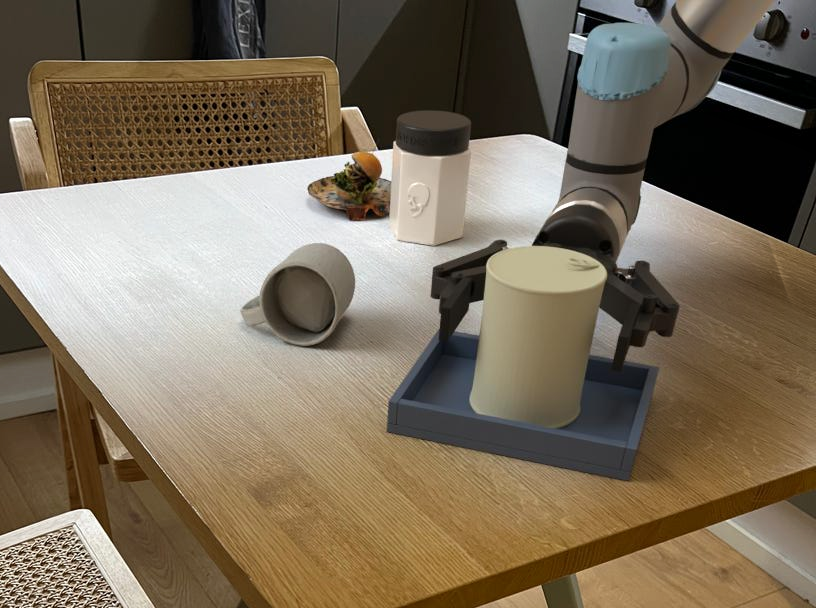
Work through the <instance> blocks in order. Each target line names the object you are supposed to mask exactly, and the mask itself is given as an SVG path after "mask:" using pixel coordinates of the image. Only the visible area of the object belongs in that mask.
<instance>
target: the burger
mask: <svg viewBox="0 0 816 608" xmlns="http://www.w3.org/2000/svg"><path fill="white" fill-rule="evenodd" d="M379 141H380V139H377V142H376V144H375V147H374V149H376V148H377V146H378V144H379ZM374 152H375V150H373V151H372V152H368V151H356V152H354V153H352V154H351V155H350V156H351V159H352V161H353V162H354V163H351V161H347V162H346V163H345V164H344V167H345V168H344V169H343V170H341V171H339V172H335V173H333V175H330V176H326V177H322V178H319V179H317V180H315V181H312V182H311V183H309V184H308V185H307V188H306V190H307V193H308V194H309V196H311V197H312V198H313V199H315V200H316V201H318V203H320V204H323V206H326V207H329V208H332V209H338V210H343V211H346V214H347V218H348V221H350V222H353V221H355V220H356V221H358V220H359V221H365V220H366V213H367V212H368V211H369V210H372V211H373V212H374V213H375V214H376V215H377V216H378V217H385V215H386V214H388V215H390V198H391V180H388V179H386V178H382V177H381V175H382V173H383V166H382V163H381V161H380V160H379V159H378V157H377V156H375V154H374Z"/></svg>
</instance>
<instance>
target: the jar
mask: <svg viewBox="0 0 816 608" xmlns="http://www.w3.org/2000/svg"><path fill="white" fill-rule="evenodd" d="M471 128H472V121H471V119H469V118H468V117H466V116H464V115H463V114H459V113H455V112H451V111H446V110H445V111H444V110H415V111H408V112H405V113H402V114H400V115H399V116H398V117H397V119H396V128H395V129H396V130H395V133H396V134H395V140H394V141H393V144H392V145H393V146H392V160H391V161H392V162H391V178H390V179H391V180H390V181H391V198H390V214H389V218H388V219H389V220H388V226H389V229H390V230H391V231H392V234H393V236H394V237H395V239H396V240H397V241H398V242H399V241H400V242H406V243H413V244H419V245H426V246H431V247H435V246H438V245H441V244H445V243H449V242H452V241H455V240H458V239H461V238H463V234H464V224H465V215H466V206H467V196H468V187H469V179H470V178H469V177H470V168H471V158H472V151H471V150H470V148H469V147H470V140H471V138H470V137H471Z"/></svg>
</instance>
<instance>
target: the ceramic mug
mask: <svg viewBox="0 0 816 608" xmlns="http://www.w3.org/2000/svg"><path fill="white" fill-rule="evenodd" d="M355 275H356V274H355V271H354V268H353V266H352V263H351V262H350V260H349V258H348V257H347V256H346V255H345V254H344V253H343V252H342V251H341V250H340V249H338V248H337V247H335V246H334V245H331V244H328V243H323V242H313V243H308V244H305V245H302V246H300V247H298V248H296V249H295V250H293V251H292V252H291V253H290V254H289V255H288V256H287V257H286V258H285V259H284V260H282V261H281V262H280V263H279V264H277V265H276V266H275V267H274V268H273V269H272V270H270V272H269V273H268V274H267V276H266V277H265V279H264V281H263V283H262V285H261V288H260V291H259V295H257V296H255V297H254V298H252V299H250V300H249V301H248V302H246V303H245V304H244V305H243V306H241V308H240V310H239V311H240V315H241V316H242V319H243V321H244V323H245V326H248V327H255V326H258V325H263V324H266V325H267V327H268V328H269V329H270V331H271V332H272V333H274V335H275V336H276V337H278V338H279V339H281V340H282V341H284V342H286V343H289V344H292V345H294V346H303V347H307V346H308V347H309V346H313V345H316V344H320V343H321V342H324V341H325V340H326V339H327V338H328V337H329V336H330V335H331V334H332V333H333V332H334V331H335V329H336V328H337V326H338V324H339V322H340V321H341V319H342V318H343V316H344V314H345V312H346V311H347V310H348V308H349V307H350V305H351V303H352V300H353V298H354V294H355V290H356V276H355Z"/></svg>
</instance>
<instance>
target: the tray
mask: <svg viewBox="0 0 816 608" xmlns="http://www.w3.org/2000/svg"><path fill="white" fill-rule="evenodd" d="M439 329H440V328H438V329H437V331H436V332H435V333H434V335H433V337H432V338H431V339H430V341H429V343H428V344H427V345H426V347H425V348H424V349H423V351H422V352H421V354H420V355H419V356H418V358H417V359H416V361H415V362H414V364H413V365H412V367H411V368H410V369H409V371H408V373H407V374H406V376H405V377H404V378H403V380H402V381H401V382H400V384H399V386H397V388H396V390H395V391H394V393H393V394H392V395H391V396H390V398H389V400H388V401H387V402H388V403H387V418H386V419H387V420H386V421H387V422H386V432H387V433H391V434H396V435H400V436H401V435H402V436H405V437H411V438H416V439H421V440H426V441H430V442H431V441H432V442H435V443H440V444H445V445H450V446H455V447H459V448H465V449H470V450H474V451H479V452H484V453H489V454H495V455H499V456H504V457H507V458H508V457H509V458H513V459H514V458H515V459H517V460H522V461H523V460H524V461H529V462H532V463H533V462H534V463H539V464H543V465H547V466H553V467H557V468H563V469H567V470H573V471H578V472H582V473H587V474H593V475H597V476H602V477H606V478H612V479H616V480H620V481H621V480H622V481H626V482H629V481H630V478H631V475H632V472H633V467H634V464H635V460H636V457H637V453H638V450H639V446H640V441H641V438H642V435H643V431H644V428H645V423H646V420H647V416H648V412H649V409H650V406H651V403H652V398H653V394H654V391H655V386H656V383H657V379H658V374H659V371H660V366H657V365H650V364H645V363H640V362H634V361H629V360H625V361H624V364H623V367H622V370H621V372H620V371H614V370H611V368H612V363H613V359H614V358H610V357H606V356H605V357H604V356H599V355H593V354H589V358H588V363H587V368H586V373H585V378H584V383H583V389H582V395H581V401H580V406H581V407H580V413H579V415H578V417H577V418H576V419H575V420H574V421H573V422H572V423H570V424H569V425H567V426H565V427H562V428H559V429H554V428H549V427H544V426H539V425H534V424H529V423H524V422H518V421H513V420H508V419H503V418H498V417H493V416H488V415H482V414H477V413H476V412H475V411H474V410H473V409H472V407H471V405H470V394H471V391H472V387H473V381H474V375H475V367H476V360H477V351H478V343H479V335H480V334H479V335H478V334H472V333H466V332H461V331H456V330H455V331H454V333H453V334H452V336H451V337H450V339H449V340H448V342H447V341H441V340H439Z"/></svg>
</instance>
